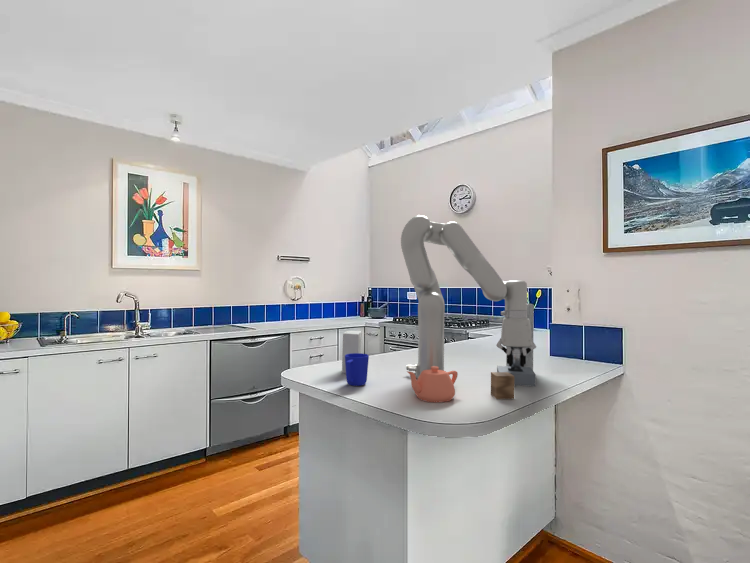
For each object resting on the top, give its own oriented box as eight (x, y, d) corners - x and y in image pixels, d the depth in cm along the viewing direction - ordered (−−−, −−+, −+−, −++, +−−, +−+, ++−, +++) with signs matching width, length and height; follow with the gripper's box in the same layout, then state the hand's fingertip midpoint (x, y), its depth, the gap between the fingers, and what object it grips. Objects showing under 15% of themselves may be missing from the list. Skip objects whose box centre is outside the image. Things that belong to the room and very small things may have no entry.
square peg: (496, 399, 125) (496, 376, 125) (490, 394, 131) (490, 372, 131) (514, 399, 126) (514, 376, 126) (507, 394, 131) (508, 372, 131)
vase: (537, 372, 163) (537, 303, 163) (527, 376, 155) (527, 304, 155) (512, 368, 169) (512, 302, 169) (501, 372, 162) (502, 303, 162)
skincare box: (346, 368, 167) (346, 330, 167) (362, 369, 166) (362, 330, 166) (341, 373, 159) (341, 332, 159) (358, 374, 158) (358, 333, 158)
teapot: (468, 400, 124) (468, 368, 124) (416, 407, 117) (416, 373, 117) (445, 390, 135) (446, 361, 135) (396, 396, 128) (397, 365, 128)
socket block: (499, 384, 144) (499, 372, 144) (496, 376, 156) (497, 365, 156) (535, 386, 141) (535, 374, 141) (530, 378, 153) (530, 367, 153)
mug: (335, 388, 136) (336, 358, 136) (350, 380, 147) (350, 352, 147) (358, 391, 133) (359, 360, 133) (371, 382, 144) (372, 354, 144)
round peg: (511, 371, 147) (511, 343, 147) (510, 369, 150) (510, 341, 150) (522, 371, 146) (522, 343, 146) (520, 369, 149) (520, 341, 150)
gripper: (492, 315, 147) (492, 367, 146) (542, 316, 143) (542, 369, 143) (491, 313, 154) (491, 363, 154) (538, 314, 150) (539, 364, 150)
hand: (516, 365), depth 148 cm, fingers closed on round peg, 3 cm apart
